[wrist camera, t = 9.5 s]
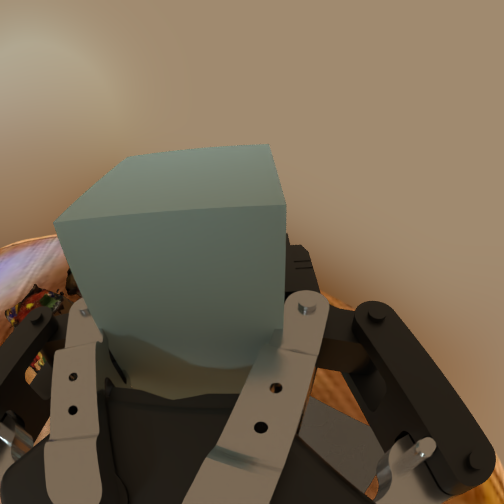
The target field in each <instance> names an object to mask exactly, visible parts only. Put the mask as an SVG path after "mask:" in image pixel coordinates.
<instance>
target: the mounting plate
mask: <svg viewBox="0 0 504 504" xmlns="http://www.w3.org/2000/svg"><path fill="white" fill-rule="evenodd" d="M131 388H132V387H131ZM132 389H133V388H132ZM299 436H300V437H301V438H302V439H303V440H304V441H305V442H306V443H307V444H308V445H309V446H310V447H311V448H312V449H313V450H314V451H315V452H317V453H318V454H319V455H320V456H321V457H322V458H323V459H324V460H325V461H326V462H328V463H329V464H330V465H331V466H332V467H333V468H334V469H335V470H337V471H338V472H339V473H340V474H341V475H342V476H343V477H345V478H346V479H347V480H348V481H349V482H351V483H352V484H353V485H354V486H355V487H356V488H358V489H359V490H360V491H361V492H363V493H365V491H366V490H367V488H368V487H369V485H370V483H371V482H372V480H373V479H374V477H375V475H376V467H377V464H378V461H379V460H380V458H381V457H382V456H383V455H384V454H385V453H384V451H383V449H382V447H381V446H380V444H379V442H378V440H377V438H376V436H375V434H374V432H373V431H372V429H371V427H370V426H368V425H366V424H364V423H362V422H359V421H357V420H355V419H353V418H351V417H349V416H347V415H345V414H343V413H341V412H340V411H338V410H336V409H334V408H332V407H330V406H328V405H326V404H324V403H322V402H321V401H319V400H317V399H315V398H313V397H311V396H310V398H309V402H308V405H307V409H306V413H305V416H304V420H303V423H302V427H301V430H300V433H299Z"/></svg>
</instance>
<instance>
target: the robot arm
mask: <svg viewBox="0 0 504 504" xmlns="http://www.w3.org/2000/svg"><path fill="white" fill-rule="evenodd" d="M39 352H40V353H41V354H42V355H43V357H44V358H45V360H46V362H45V364H44V365H43V366H42V368H41V369H40V371H39V372H38V373H37V375H36V376H35V378H34V379H33V381H32V382H31V384H30V385H29V384H28V383H27V382H26V380H25V372H26V370H27V368H28V367H29V365H30V364H31V363H32V361H33V360H34V359H35V357H36V356H37V355H38V353H39ZM317 368H323V369H328V370H334V371H340V372H341V373H342V375H343V377H344V379H345V381H346V383H347V384H348V386H349V388H350V390H351V392H352V394H353V395H354V397H355V399H356V401H357V403H358V405H359V406H360V408H361V410H362V412H363V414H364V416H365V418H366V419H367V421H368V423H369V425H370V427H371V429H372V431H373V432H374V434H375V436H376V438H377V440H378V442H379V444H380V446H381V447H382V449H383V451H384V453H385V454H384V455H383V456H382V457H381V458H380V460H379V461H378V464H377V467H376V475H377V478H378V482H379V490H378V493H377V495H376V497H375V499H374V500H373V501H372V500H371V499H370V498H369V497H367V496H366V495H365V494H364V493H363V492H361V491H360V490H359V489H358V488H356V487H355V486H354V485H353V484H352V483H351V482H349V481H348V480H347V479H346V478H345V477H343V476H342V475H341V474H340V473H339V472H338V471H337V470H335V469H334V468H333V467H332V466H331V465H330V464H329V463H328V462H326V461H325V460H324V459H323V458H322V457H321V456H320V455H319V454H318V453H317V452H315V451H314V450H313V449H312V448H311V447H310V446H309V445H308V444H307V443H306V442H305V441H304V440H303V439H302V438H301V437H300V436H299V433H300V430H301V427H302V423H303V420H304V416H305V413H306V409H307V405H308V402H309V398H310V394H311V391H312V387H313V383H314V380H315V376H316V372H317ZM49 417H50V434H49V435H47V436H46V437H45V438H44V439H43V440H41V441H40V442H39V443H38V444H36V445H35V446H34V447H33V444H34V442H35V441H36V439H37V437H38V435H39V434H40V432H41V430H42V428H43V427H44V425H45V423H46V422H47V420H48V418H49ZM495 463H496V456H495V451H494V449H493V447H492V445H491V443H490V442H489V440H488V439H487V437H486V435H485V434H484V432H483V431H482V429H481V428H480V426H479V425H478V423H477V422H476V420H475V419H474V417H473V416H472V414H471V413H470V411H469V410H468V408H467V407H466V405H465V404H464V402H463V401H462V400H461V398H460V397H459V395H458V394H457V392H456V391H455V390H454V388H453V387H452V385H451V384H450V383H449V381H448V380H447V379H446V377H445V376H444V374H443V373H442V372H441V370H440V369H439V368H438V366H437V365H436V364H435V362H434V361H433V360H432V358H431V357H430V356H429V354H428V353H427V352H426V351H425V349H424V348H423V347H422V345H421V344H420V343H419V341H418V340H417V339H416V338H415V336H414V335H413V334H412V332H411V331H410V330H409V329H408V327H407V326H406V325H405V324H404V322H403V321H402V320H401V319H400V317H399V316H398V315H397V314H396V312H395V311H394V310H393V309H392V308H391V307H389V306H388V305H386V304H384V303H382V302H378V301H367V302H364V303H362V304H360V305H359V306H358V307H357V308H356V310H355V311H351V310H344V309H339V308H336V307H334V306H332V305H330V304H329V302H328V300H327V299H326V298H325V297H324V296H323V295H322V294H321V293H320V290H319V286H318V283H317V279H316V276H315V273H314V270H313V266H312V262H311V259H310V256H309V252H308V251H307V250H306V249H305V248H304V247H303V246H302V245H290V243H289V238H288V234H287V233H286V259H285V295H284V323H283V329H274V332H273V334H272V336H271V339H270V341H269V343H268V345H267V344H263V345H262V347H261V349H260V351H259V353H258V355H257V357H256V360H255V362H254V364H253V367H252V369H251V371H250V373H249V376H248V378H247V380H246V382H245V385H244V387H243V389H242V391H241V393H238V394H209V393H208V394H203V395H198V396H193V397H188V398H182V399H176V400H171V399H167V398H164V397H161V396H158V395H155V394H152V393H149V392H146V391H143V390H138V389H132V388H131V380H130V377H129V375H128V373H127V372H126V370H121V368H120V367H119V365H118V363H117V362H116V360H115V358H114V357H113V355H112V353H111V351H110V349H109V343H108V338H107V336H106V334H105V332H104V330H103V328H98V327H97V325H96V323H95V321H94V319H93V317H92V315H91V313H90V311H89V309H88V307H87V305H86V303H85V301H84V299H83V297H82V298H80V299H79V300H77V301H76V302H75V303H74V304H73V305H72V307H71V308H70V311H69V313H66V314H62V315H58V316H54V314H53V312H52V311H51V309H50V308H49V307H46V306H41V307H38V308H35V309H33V310H32V311H31V312H29V313H28V314H27V316H26V317H25V318H24V319H23V320H22V321H21V322H20V324H19V325H18V326H17V327H16V328H15V330H14V331H13V332H12V333H11V334H10V336H9V337H8V338H7V339H6V341H5V342H4V343H3V344H2V346H1V347H0V498H1V503H2V504H442V503H443V502H445V501H447V500H450V499H452V498H454V497H456V496H458V495H461V494H463V493H465V492H467V491H469V490H471V489H473V488H475V487H477V486H478V485H480V484H482V483H484V482H485V481H486V480H487V479H488V478H489V477H490V476H491V474H492V472H493V470H494V467H495Z"/></svg>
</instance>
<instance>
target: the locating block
mask: <svg viewBox="0 0 504 504" xmlns="http://www.w3.org/2000/svg"><path fill="white" fill-rule="evenodd" d="M53 224H54V227H55V230H56V232H57V236H58V238H59V241H60V244H61V247H62V249H63V252H64V254H65V257H66V259H67V262H68V264H69V267H70V269H71V272H72V274H73V276H74V279H75V281H76V283H77V286H78V288H79V290H80V292H81V294H82V297H83V299H84V301H85V303H86V305H87V307H88V309H89V311H90V313H91V315H92V317H93V319H94V321H95V323H96V325H97V327H98V328H103V330H104V332H105V334H106V336H107V338H108V343H109V349H110V351H111V353H112V355H113V357H114V358H115V360H116V362H117V363H118V365H119V367H120V368H121V370H126V372H127V373H128V375H129V377H130V380H131V386H132V388H133V389H138V390H143V391H146V392H149V393H152V394H155V395H158V396H161V397H164V398H167V399H171V400H176V399H182V398H188V397H193V396H198V395H203V394H208V393H209V394H238V393H241V391H242V389H243V387H244V385H245V382H246V380H247V378H248V376H249V373H250V371H251V369H252V367H253V364H254V362H255V360H256V357H257V355H258V353H259V351H260V349H261V347H262V345H263V344H267V345H268V343H269V341H270V339H271V336H272V334H273V332H274V329H283V323H284V295H285V259H286V202H285V198H284V195H283V191H282V188H281V184H280V181H279V177H278V174H277V170H276V167H275V163H274V160H273V156H272V154H271V150H270V147H269V144H262V145H239V146H223V147H210V148H198V149H187V150H178V151H169V152H161V153H152V154H146V155H138V156H131V157H127V158H126V159H125V160H123V161H122V162H120V163H119V164H118V165H117V166H116V167H114V168H113V169H112V170H111V171H109V172H108V173H107V174H106V175H105V176H103V177H102V178H101V179H100V180H99V181H97V182H96V183H95V184H94V185H93V186H92V187H91V188H89V189H88V190H87V191H86V192H85V193H84V194H83V195H82V196H80V197H79V198H78V199H77V200H76V201H75V202H74V203H73V204H72V205H71V206H70V207H69V208H67V210H66V211H64V212H63V213H62V214H61V215H60V216H59V217H58V218H57V219H56V220H55V221H54V222H53Z"/></svg>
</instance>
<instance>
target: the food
mask: <svg viewBox="0 0 504 504" xmlns="http://www.w3.org/2000/svg"><path fill="white" fill-rule="evenodd" d="M67 273H68V277H67V279H66V287H65V288H66V290H67V293H68V295H73V294H78V295H79V296H80V297H82V294H81V292H80V290H79V288H78V286H77V283H76V281H75V279H74V276H73V274H72V272H71V269H70V268H69V270H68V271H67ZM68 288H69V289H71V290H70V292H69V289H68ZM58 291H59V289H57V293H58ZM57 293H53V292H51V291H48V290H46V289H41V288H39V287H38V286H37V285H36V284H34V286H33V289H31V291H30V293H29V294H28V295H27V296H26V297H25V298H24V299H23V300H22V302H19V303H18V304H17V305H16V306H14V307H13V308H10V309H8V310H6V311H5V316H6V318H7V319H8V321H9V322H10V323H11V324H12V325H13V326H14V330H15V328H16V327H17V326H18V325H19V324H20V322H21V321H22V320H23V319H24V318H25V317H26V316H27V314H28V313H29V312H31V311H32V310H33V309H35V308H38V307H41V306H46V307H49V308H50V309H51V311H52V312H53V314H54V316H58V315H62V314H66V313H69V311H70V308H71V307H72V305H73V304H74V303H73V302H72V301H70V300H69V299H67V298H65V297H64V296H63V295H64V293H63V292H60V294H61V295H60V294H57ZM65 295H66V294H65ZM10 312H11V313H12V315H11V314H10ZM13 326H12V327H13ZM12 327H10V328H12ZM39 359H41V360H40V361H39V362H38V365H39V366H40V367H41V368H42V366H43V365H44V364H45V362H46V360H45V358H44V357H43V355H42V354H41V353H40V352H39V353H38V355H37V356H36V357H35V359H34V360H33V361H32V363H31V364H30V365H29V366H30V367H32V368H33V369H34V371H35V372H36V373H38V372H39V371H36V368H35V366H34V364H35V363H36V362H37V361H38V360H39Z"/></svg>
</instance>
